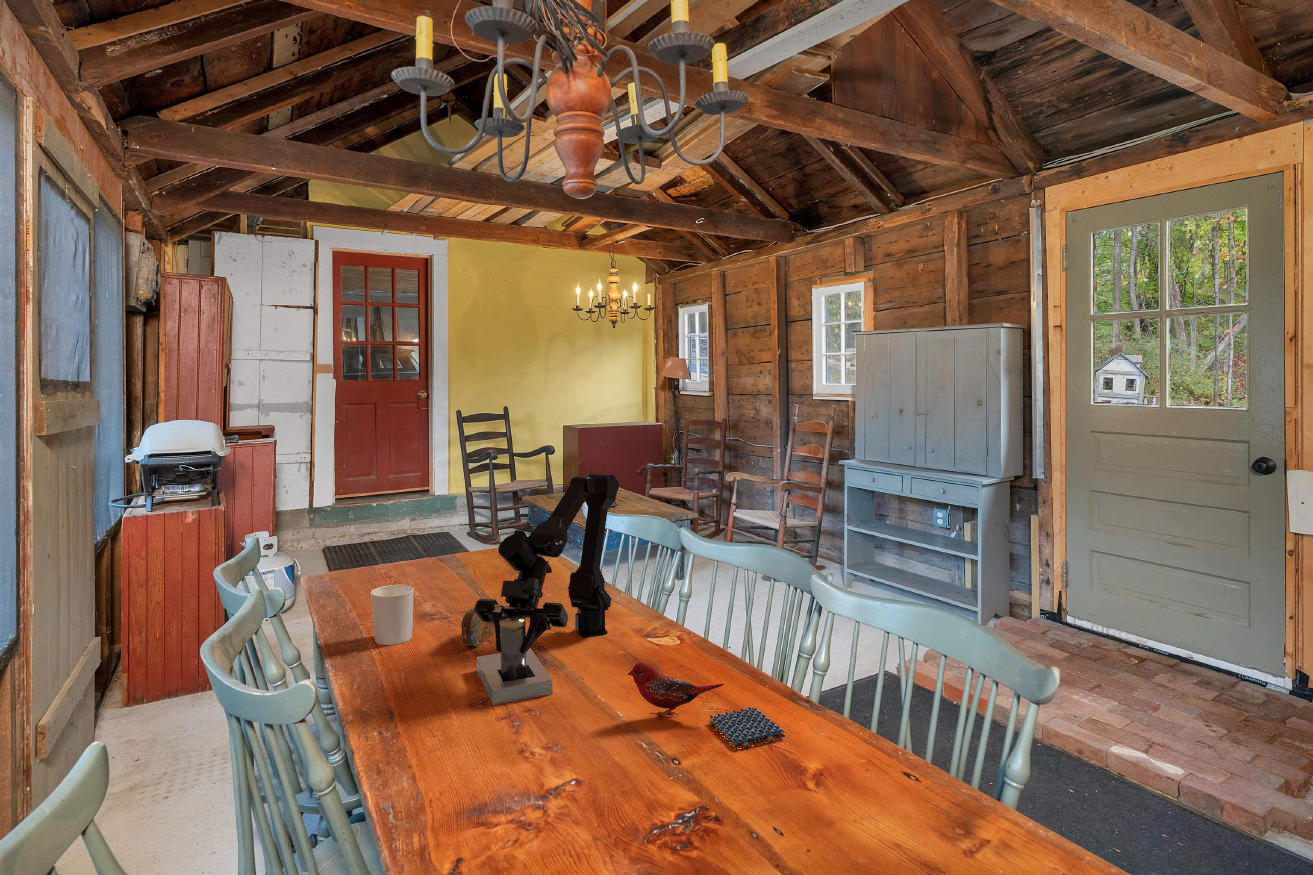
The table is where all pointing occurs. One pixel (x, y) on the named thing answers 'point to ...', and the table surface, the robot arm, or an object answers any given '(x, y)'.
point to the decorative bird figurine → (665, 688)
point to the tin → (475, 629)
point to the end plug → (512, 647)
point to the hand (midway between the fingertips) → (510, 652)
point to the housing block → (514, 690)
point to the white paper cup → (392, 613)
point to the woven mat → (747, 728)
